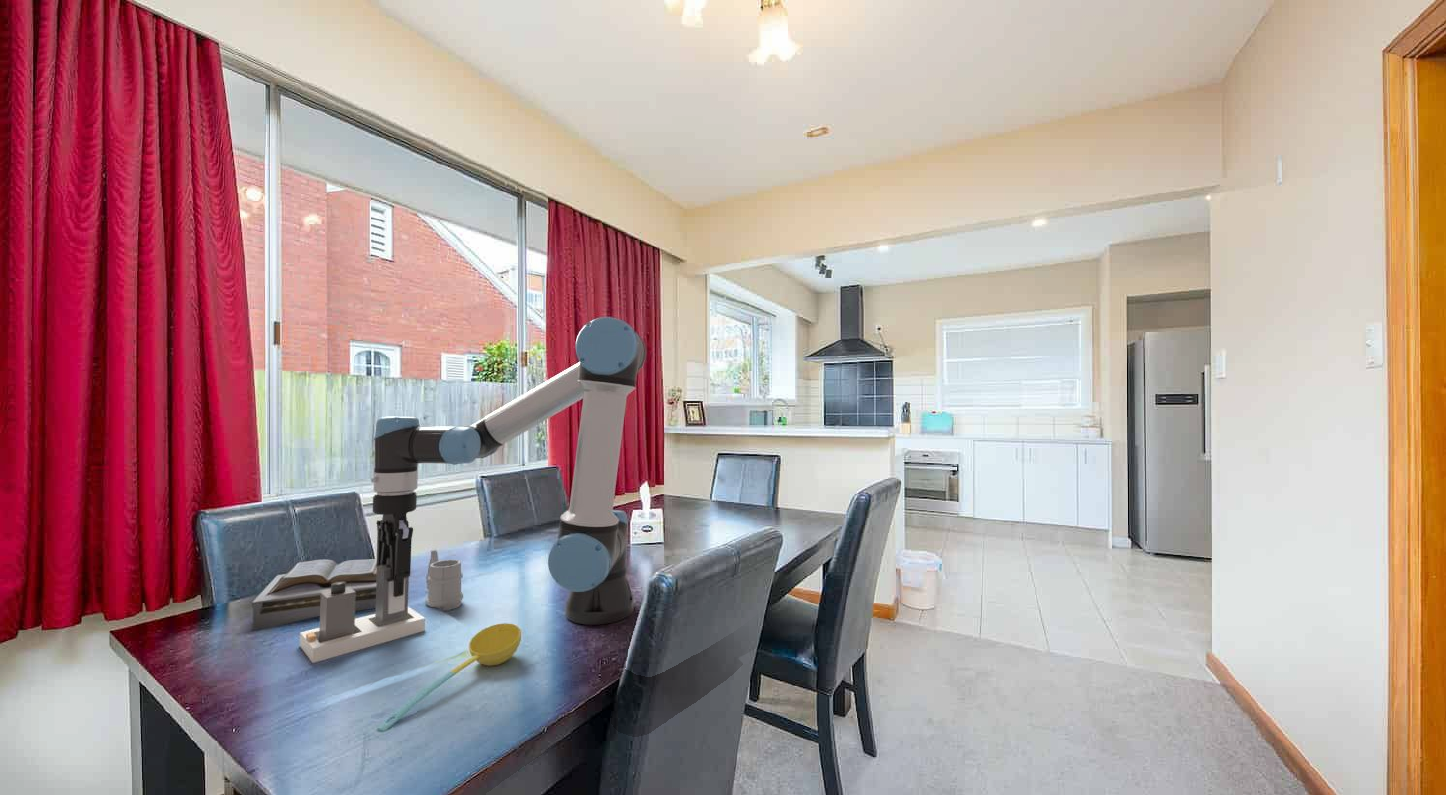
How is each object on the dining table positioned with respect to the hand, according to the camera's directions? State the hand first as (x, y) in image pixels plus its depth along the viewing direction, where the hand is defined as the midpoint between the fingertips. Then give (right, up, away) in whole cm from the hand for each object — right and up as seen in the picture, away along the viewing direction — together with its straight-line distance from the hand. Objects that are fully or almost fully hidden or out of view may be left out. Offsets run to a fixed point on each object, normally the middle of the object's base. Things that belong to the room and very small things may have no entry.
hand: (391, 608), depth 103 cm
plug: (0, -1, 0) cm, 1 cm away
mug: (0, -6, +17) cm, 18 cm away
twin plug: (-6, -4, -7) cm, 10 cm away
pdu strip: (-3, -5, -4) cm, 7 cm away
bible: (-24, -6, +16) cm, 29 cm away
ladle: (+23, -6, -18) cm, 30 cm away
